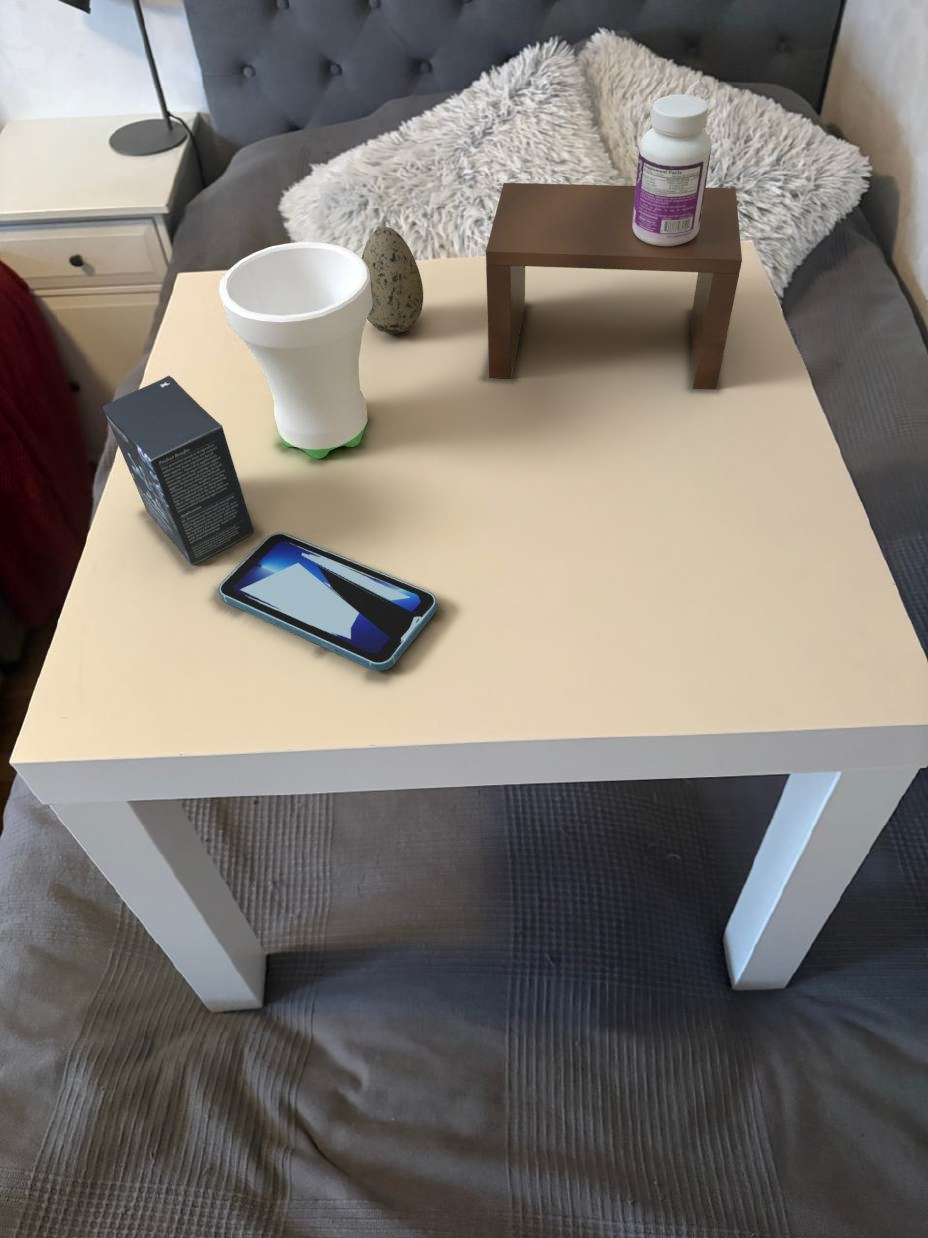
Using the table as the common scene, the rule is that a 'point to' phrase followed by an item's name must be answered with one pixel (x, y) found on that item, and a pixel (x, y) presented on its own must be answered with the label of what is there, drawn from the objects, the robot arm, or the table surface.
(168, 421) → the box
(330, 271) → the cup
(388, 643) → the smartphone
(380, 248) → the decorative egg
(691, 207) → the pill bottle
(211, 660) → the table surface
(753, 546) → the table surface
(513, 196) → the desk shelf
